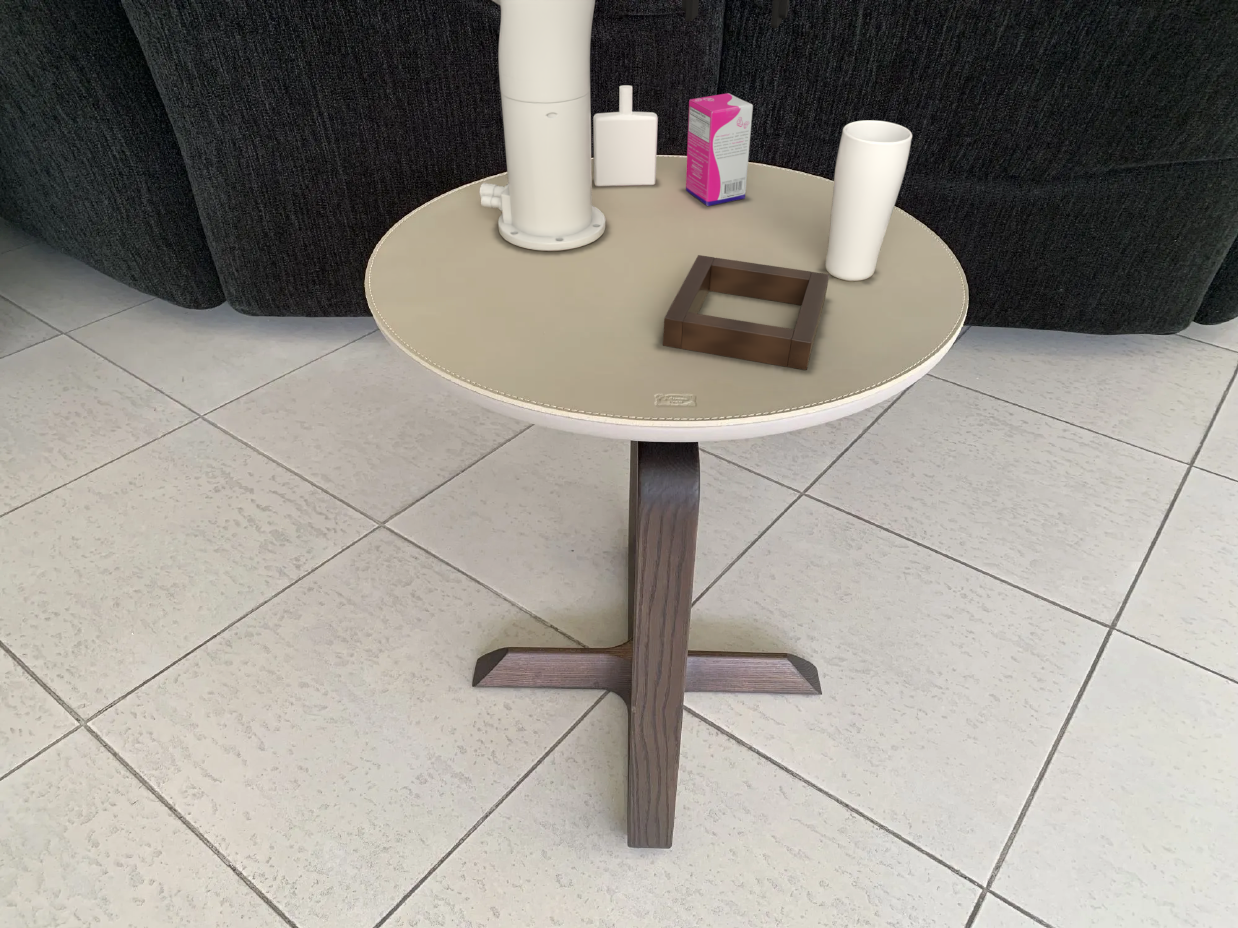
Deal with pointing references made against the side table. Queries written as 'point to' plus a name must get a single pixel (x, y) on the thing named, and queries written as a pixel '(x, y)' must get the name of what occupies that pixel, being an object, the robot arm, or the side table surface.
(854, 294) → the side table surface
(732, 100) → the supplement box
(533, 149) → the robot arm
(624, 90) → the perfume bottle
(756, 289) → the socket
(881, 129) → the drinking glass
